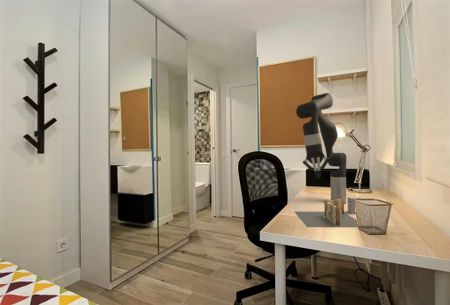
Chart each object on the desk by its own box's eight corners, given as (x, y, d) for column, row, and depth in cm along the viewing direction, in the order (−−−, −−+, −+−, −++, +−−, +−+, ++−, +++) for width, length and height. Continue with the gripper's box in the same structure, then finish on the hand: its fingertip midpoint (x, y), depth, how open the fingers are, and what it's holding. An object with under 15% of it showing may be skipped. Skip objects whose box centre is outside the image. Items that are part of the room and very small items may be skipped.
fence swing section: (325, 216, 115) (325, 201, 115) (329, 216, 115) (329, 201, 115) (336, 224, 102) (336, 207, 102) (340, 224, 102) (340, 207, 102)
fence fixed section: (327, 217, 115) (326, 200, 115) (323, 216, 117) (323, 200, 117) (344, 213, 121) (344, 198, 121) (341, 213, 123) (341, 197, 123)
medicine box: (362, 212, 124) (362, 197, 124) (366, 214, 120) (366, 198, 120) (347, 212, 125) (347, 197, 125) (351, 214, 121) (350, 198, 121)
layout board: (294, 212, 127) (294, 211, 127) (342, 212, 125) (342, 211, 125) (307, 227, 101) (307, 226, 101) (369, 228, 99) (369, 227, 99)
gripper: (326, 140, 110) (332, 174, 111) (299, 145, 115) (304, 177, 116) (328, 141, 103) (334, 178, 104) (298, 146, 108) (304, 181, 109)
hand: (318, 177), depth 110 cm, fingers closed
